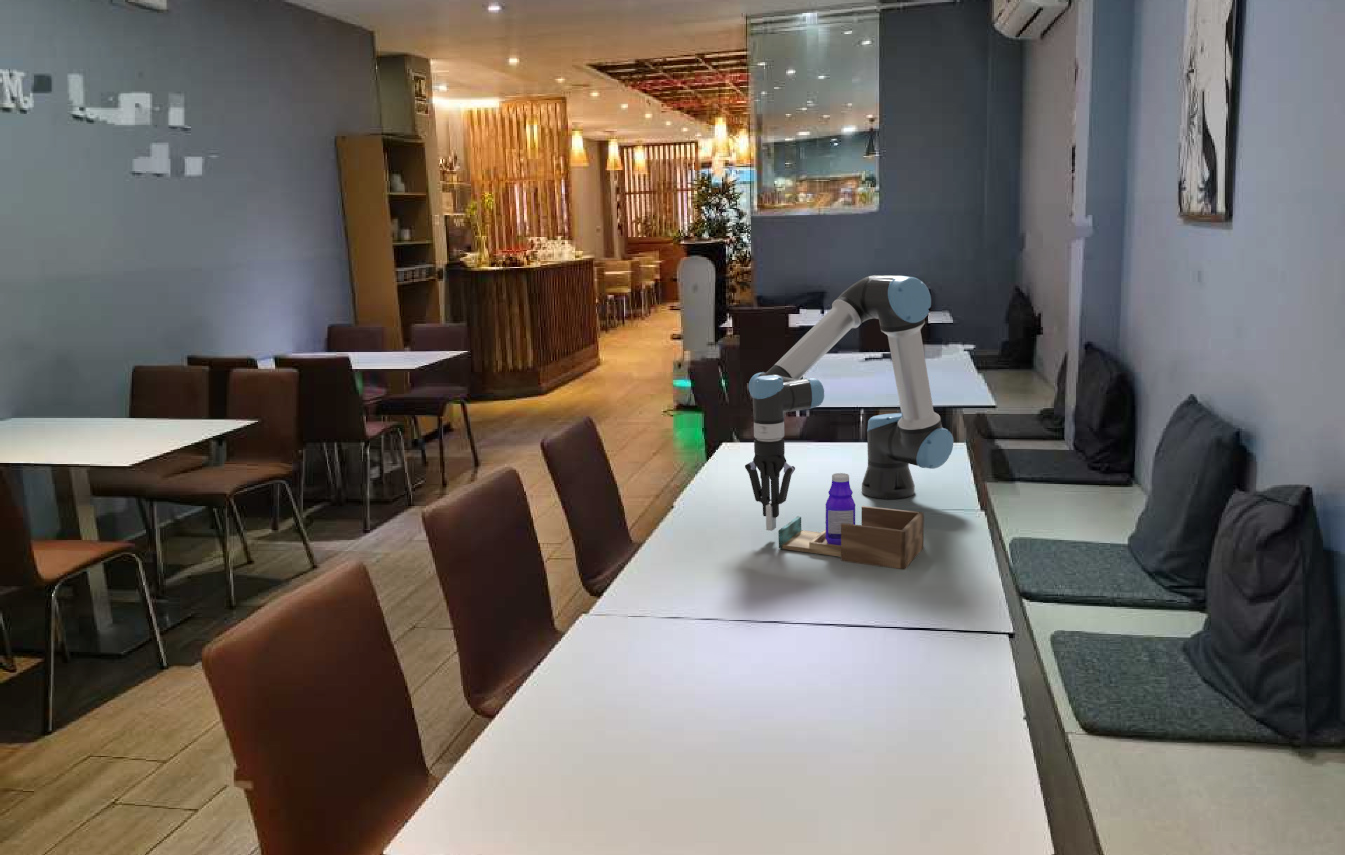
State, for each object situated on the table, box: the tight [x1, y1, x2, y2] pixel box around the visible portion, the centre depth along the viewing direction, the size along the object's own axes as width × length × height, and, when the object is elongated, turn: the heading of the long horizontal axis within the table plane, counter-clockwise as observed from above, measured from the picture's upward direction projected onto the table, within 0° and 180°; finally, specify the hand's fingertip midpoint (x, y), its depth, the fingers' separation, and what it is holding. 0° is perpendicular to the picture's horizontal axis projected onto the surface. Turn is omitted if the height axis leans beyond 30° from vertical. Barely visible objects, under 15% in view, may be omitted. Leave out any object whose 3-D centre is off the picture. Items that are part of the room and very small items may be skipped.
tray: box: [777, 516, 841, 558], centre depth 237 cm, size 12×21×5 cm, turn 61°
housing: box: [840, 505, 925, 570], centre depth 230 cm, size 16×15×9 cm
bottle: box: [825, 472, 856, 546], centre depth 234 cm, size 7×6×17 cm
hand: (771, 528), depth 245 cm, fingers closed
